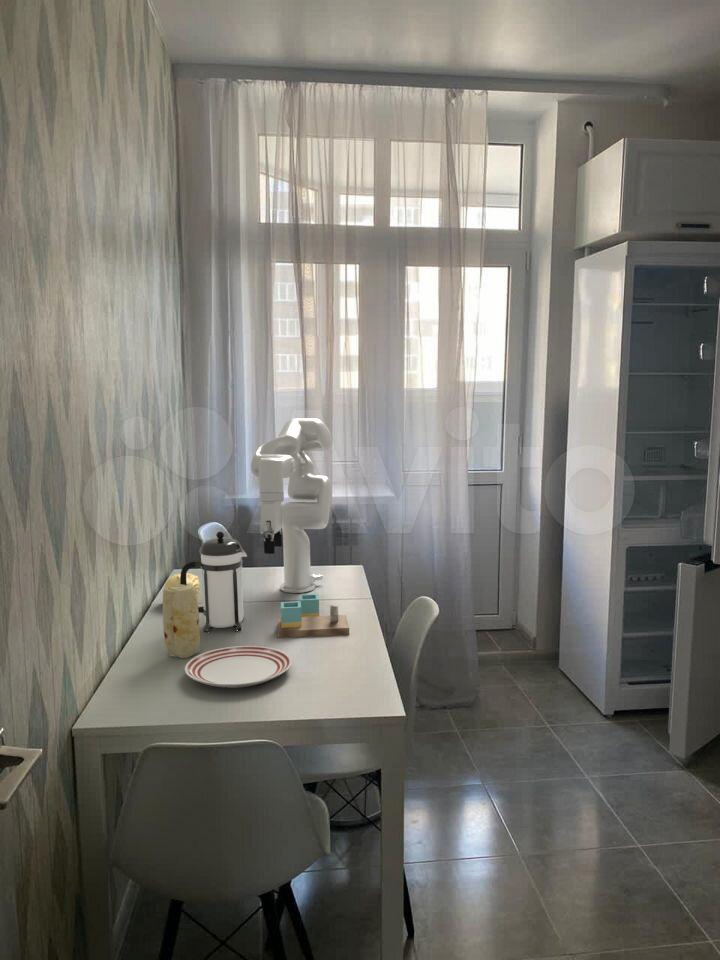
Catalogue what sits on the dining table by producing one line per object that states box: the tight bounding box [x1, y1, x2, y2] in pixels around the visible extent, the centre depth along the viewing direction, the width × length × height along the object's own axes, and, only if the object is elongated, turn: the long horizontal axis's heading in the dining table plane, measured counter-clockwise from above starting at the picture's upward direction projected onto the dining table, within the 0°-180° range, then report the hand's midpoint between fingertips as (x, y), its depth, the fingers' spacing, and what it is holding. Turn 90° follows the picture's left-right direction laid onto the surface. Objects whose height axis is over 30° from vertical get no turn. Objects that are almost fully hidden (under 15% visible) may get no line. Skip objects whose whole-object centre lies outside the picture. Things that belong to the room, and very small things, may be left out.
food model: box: [162, 584, 201, 659], centre depth 206 cm, size 10×7×20 cm
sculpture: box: [163, 572, 201, 599], centre depth 254 cm, size 11×12×11 cm
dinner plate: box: [184, 645, 293, 689], centre depth 194 cm, size 28×27×3 cm
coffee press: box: [180, 531, 248, 634], centre depth 228 cm, size 17×16×30 cm
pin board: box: [277, 604, 350, 639], centre depth 227 cm, size 21×12×7 cm, turn 96°
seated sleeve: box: [280, 600, 302, 628], centre depth 226 cm, size 6×6×6 cm
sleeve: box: [299, 593, 320, 617], centre depth 240 cm, size 6×6×6 cm
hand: (273, 549), depth 238 cm, fingers open, 9 cm apart
